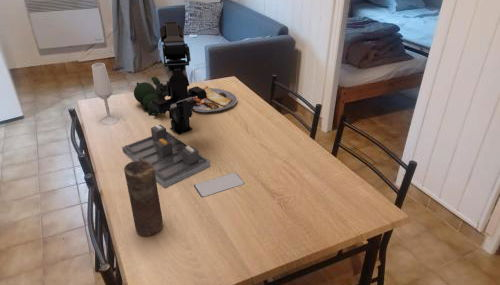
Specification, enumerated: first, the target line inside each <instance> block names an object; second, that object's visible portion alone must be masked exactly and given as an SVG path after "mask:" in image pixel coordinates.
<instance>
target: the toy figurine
mask: <svg viewBox="0 0 500 285" xmlns="http://www.w3.org/2000/svg"><path fill="white" fill-rule="evenodd" d="M151 81H152V82H153V84H154V85H152V84H151V83H150V82H145V81H143V82H136V86H135V87H134V90H133V97H134V98H135V100H136V101H137V102H138V103H140V106H142V110H143V111H144V112H147V111H148V112H147V114H148V115H149V116H152V115H153V116H154V117H158V116H159V114H160V113H159V112H157V111H156V110H154V109H153V108H151V102H152V100H154V99H157V98H161V97H162V98H164V99H165V100H166V97H168V96H167V94H164V95H163V94H162V93H157V90H156V87H154V86H156V84H159V83H161V81H160V79H159V78H158V77H157V76H152V77H151ZM161 114H162V115H166V114H167V112H164V113H161Z"/></svg>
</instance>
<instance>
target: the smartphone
mask: <svg viewBox="0 0 500 285" xmlns="http://www.w3.org/2000/svg"><path fill="white" fill-rule="evenodd" d="M242 185H245V181H244V180H243V179H242V178H241V177H240V176H239V174H238V173H237V172H231V173H228V174H224V175H222V176H218V177H215V178H212V179H209V180H205V181H202V182H198V183H196V184H193V186H194V189H195V190H196V191H197V193H198V194H199V196H200V197H201V198H205V197H209V196H211V195H212V196H213V195H215V194H217V193H221V192H224V191H227V190H231V189H234V188H237V187H240V186H242Z"/></svg>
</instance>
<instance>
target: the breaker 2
mask: <svg viewBox="0 0 500 285" xmlns="http://www.w3.org/2000/svg"><path fill="white" fill-rule="evenodd" d="M199 154H200V153H199V149H197V148H196V147H194V146H193V145H187V147H185V149H183V150H182V160H183V162H184V163H186V164H187V165H188V166H191V165H193V164H195V163H197V162H199Z"/></svg>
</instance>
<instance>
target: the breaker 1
mask: <svg viewBox="0 0 500 285" xmlns="http://www.w3.org/2000/svg"><path fill="white" fill-rule="evenodd" d="M166 131H167V128H166V127H165V126H163V125H162V124H154V126H153V127H150V132H151V133H150V134H151V136H152V139H154V140H155V141H156V142H158V141H159V139H167V132H168V131H167V132H166Z"/></svg>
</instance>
